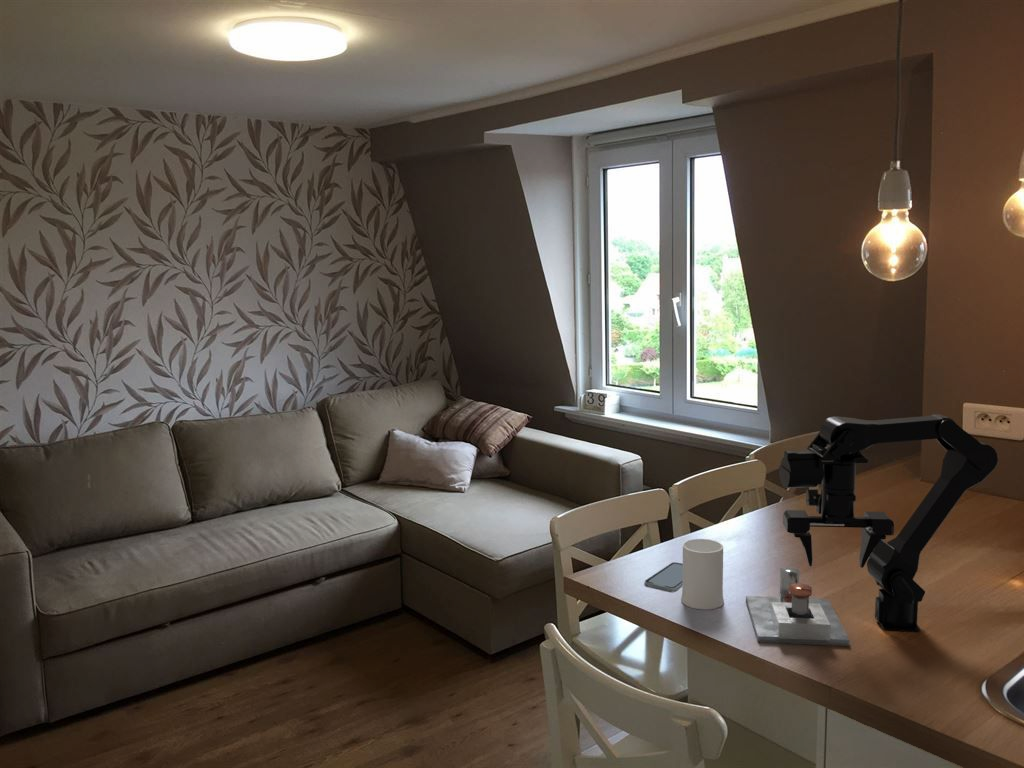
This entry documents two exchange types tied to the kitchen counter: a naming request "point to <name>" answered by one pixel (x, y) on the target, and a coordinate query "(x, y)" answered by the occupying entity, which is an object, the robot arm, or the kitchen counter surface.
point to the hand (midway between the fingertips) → (835, 566)
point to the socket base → (779, 626)
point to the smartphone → (667, 577)
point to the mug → (702, 574)
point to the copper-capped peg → (800, 600)
